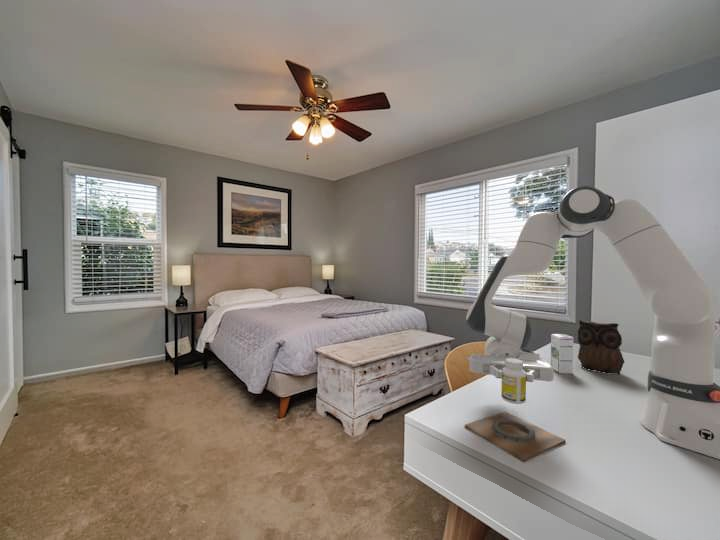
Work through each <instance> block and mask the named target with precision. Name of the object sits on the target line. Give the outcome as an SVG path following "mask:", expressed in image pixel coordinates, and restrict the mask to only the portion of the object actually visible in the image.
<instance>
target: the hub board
mask: <svg viewBox="0 0 720 540" xmlns="http://www.w3.org/2000/svg"><path fill="white" fill-rule="evenodd" d="M464 427H465V428H466V429H467V430H470V431H471V432H473V433H474V434H476V435H478V436H479V437H480V438H483V439H484V440H486V441H488V442H489V443H491V444H493V445H494V446H496V447H498V448H499V449H501V450H502V451H504V452H506V453H508V454H509V455H511V454H512V455H511V456H513V457H514V456H515V457H514V458H516V459H518V460H520V461H521V462H523V463H524V462H525V463H526V462H527V461H530V460H531V459H533V458H535V457H538V456H539V455H541V454H544V453H546V452H548V451H550V450H552V449H554V448H556V447H560V445H562V444H565V443H566V439H565V438H562V437H560V436H558V435H556V434H554V433H552V432H551V431H548V430H546V429H544V428H541V427H539V426H537V425H535V424H533V423H530V422H528V421H526V420H524V419H522V418H520V417H518V416H516V415H514V414H511V412H510V413H509V412H507V411H503V412H499V413H496V414H493V415H490V416H487V417H484V418H481V419H478V420H474V421H472V422H468V423H466V424H464Z"/></svg>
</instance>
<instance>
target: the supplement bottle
mask: <svg viewBox="0 0 720 540" xmlns="http://www.w3.org/2000/svg"><path fill="white" fill-rule="evenodd" d="M505 366H506V367H504V368H503V369H502V372H503V375H502V376H503V378H502V379H501V399H502V400H503V401H505V402H507V403H510V404H515V405H522V404H524V403H526V400H527V399H526V397H527V393H526V392H527V390H526V389H527V388H526V387H527V386H526V385H527V381H526V372H525V371H524V370H522V368H523V361H521V360H519V359H513V358H507V359H505Z"/></svg>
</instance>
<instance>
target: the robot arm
mask: <svg viewBox="0 0 720 540" xmlns="http://www.w3.org/2000/svg"><path fill="white" fill-rule="evenodd" d="M594 230H597V231H599V232H601V233H602V234H604V236H605V237H606V238H608V240H609V242H610V243H611V245H612V246H613V248H614V249H615V251H616V253H617V254H618V255H619V257H620V258H621V260H622V261H623V263H624V264H625V266H626V267H627V268H628V271H629V272H630V274H631V276H632V277H633V279H634V281H635V283H636V284H637V286H638V288H639V290H640V292H641V294H642V295H643V296H644V299H645V300H646V302H647V304H648V305H649V307H650V309H651V310H652V311H653V312H654V320H653V321H654V323H653V331H652V339H651V350H650V351H651V354H650V355H651V357H650V358H651V359H650V370H649V371H648V375H647V392H648V399H647V403H646V407H645V411H644V413H643V416H642V417H641V419H640V423H641V425H642V426H643V427H644V428H645V429H646V430H648V431H650V432H652V433H653V434H654V435H655V436H656V437H657V438H658V439H659V440H660V441H662V442H664V443H668V444H671V445H674V446H677V447H680V448H683V449H686V450H688V451H692V452H696V453H700V454H703V455H704V456H708V457H711V458H715V459H718V460H720V385H718V384H717V383H715V381H714V378H715V349H716V348H715V347H716V323H717V322H716V320H717V319H716V318H717V297H716V295H715V293H714V291H713V290H712V289H711V288H710V287H709V286H708V285H706V283H705V282H704V280H702V278H701V276H700V275H699V274H698V272H696V270H695V268H694V267H693V266H692V265H691V263H690V262H689V260H688V259H687V257H686V256H685V255H684V253H683V252H682V250H681V249H680V248H679V247H678V245H677V244H676V243H675V241H674V240H673V239H672V238H671V237H670V235H669V233H668V232H667V231H666V230H665V228H664V227H663V225H661V223H660V222H659V221H658V220H657V218H656V217H655V216H654V215H653V214H652V213H651V212H650V211H649V210H648V209H647V208H646V207H645V206H643V204H641V203H640V202H639V201H637V200H636V199H633V198H623V199H619V200H615V199H614V197H613V196H611V195H608V194H606V193H604V192H603V191H601V190H599V188H596V187H593V186H589V185H588V186H587V185H583V186H578V187H576V188H573V189H571V190H569V191H568V192H567V193H566V194H565V195H564V196H563V197H562V199H561V201H560V203H559V207H558V209H557V210H555V211H552V212H548V211H547V212H546V211H539V212H535V213H533V214H531V215H530V216H529V217H528V218H527V220H526V222H525V223H524V225H523V227H522V230H521V231H520V232H519V236H518V238H517V241H516V244H515V247H514V248H513V249H512V251H511V252H510V253H508V254H506V255H502V256H501V257H500V258H499V259H498V261H497V262H496V264H495V265H494V267H493V269H492V271H490V273H489V276H488V277H487V279H486V281H485V282H484V285H483V287H482V288H481V290H480V291H479V294H478V296H477V297H476V299H475V300H474V302H473V303H472V304H471V306H470V307H469V309H468V311H467V312H466V318H465V322H466V325H467V327H468V328H469V329H470V330H471V332H473V333H477V334H481V335H486V336H489V338H487V339H486V341H485V344H484V353H471V354H470V356H467V357H466V360H467V362H469V372H470V373H474V374H479V375H480V374H481V375H489V376H494V377H495V379H501V380H502V378H503V376H502V375H503V372H502V369H503V368H504V367H506V366H505V359H507V358H513V359H519V360H521V361H523V368H522V370H524V371H525V372H526V383H527V382H528V383H533V382H534V381H544V382H552V381H554V378H555V377H554V376H555V370H554V368H553V366H552V365H551V362H549V361H548V360H546V358H543V357H541V356H540V353H539V352H537V351H532V350H527V349H526V347H527V346H528V344H529V342H530V339H531V336H532V325H531V323H530V320H529V318H528V317H527V316H526V314H522V313H519V312H517V311H514V310H510V309H506V308H503V307H501V306H497V305H494V304H492V300H493V298H494V296H495V294H496V293H497V291H498V289H499V288H500V286H501V283H502V282H503V281H504V280H505V279H506V278H508V277H515V276H529V275H530V276H531V275H537V274H540V273H542V272H544V271H546V270H547V269H548V268H550V266H551V265H552V263H553V260H554V259H555V256H556V252H557V249H558V246H559V243H560V241H561V240H562V239H577V238H582V237H586V236H587V235H589V234H591V233H592V232H593V231H594Z"/></svg>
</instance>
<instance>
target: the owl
mask: <svg viewBox="0 0 720 540" xmlns="http://www.w3.org/2000/svg"><path fill="white" fill-rule="evenodd" d="M578 323H579V328H578V329H577V342H578V343H579V349H578V355H577V359H578V360H579V361H580V364H581V365H580V366H582V367H584V368H586V369H585V370H587V369H590V370H589V371H592V370H596V371H600V372H599V373H602V372H605V373H604V374H606V373H617V374H616V375H621V372H622V368H623V367H624V364H625V360H624V357H623V354H622V352H621V348H620V347H621V346H622V345H623V343H622V342H623V339H622V334H620V332H619V330H618V327H619V323H615V322H614V323H613V322H603V321H602V322H600V321H593V320H592V321H587V320H582V319H579V320H578ZM582 367H581V368H582ZM584 368H583V369H584ZM596 371H595V372H596Z"/></svg>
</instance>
